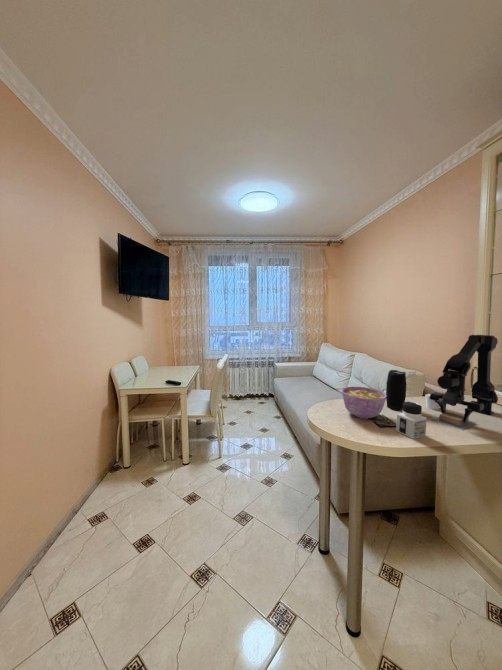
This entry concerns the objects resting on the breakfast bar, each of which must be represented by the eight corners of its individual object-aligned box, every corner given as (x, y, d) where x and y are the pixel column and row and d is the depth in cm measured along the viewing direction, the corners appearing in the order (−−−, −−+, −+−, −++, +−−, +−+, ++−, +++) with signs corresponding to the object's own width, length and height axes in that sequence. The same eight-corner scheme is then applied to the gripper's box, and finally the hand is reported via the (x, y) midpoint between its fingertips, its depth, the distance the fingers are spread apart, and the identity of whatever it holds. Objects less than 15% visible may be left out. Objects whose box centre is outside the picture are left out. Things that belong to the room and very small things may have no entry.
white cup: (435, 406, 136) (436, 393, 135) (443, 411, 129) (444, 398, 129) (421, 405, 137) (422, 393, 136) (429, 410, 130) (430, 397, 129)
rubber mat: (445, 414, 125) (445, 413, 125) (476, 423, 115) (476, 422, 115) (431, 421, 117) (431, 420, 117) (463, 431, 107) (463, 430, 107)
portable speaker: (408, 408, 132) (410, 372, 130) (397, 412, 128) (400, 374, 126) (392, 403, 140) (394, 369, 138) (381, 406, 135) (383, 370, 133)
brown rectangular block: (449, 416, 122) (449, 410, 122) (468, 421, 116) (469, 415, 116) (439, 421, 116) (439, 414, 116) (458, 427, 110) (459, 420, 110)
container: (413, 439, 100) (415, 407, 99) (395, 431, 107) (397, 401, 106) (426, 435, 103) (428, 405, 102) (407, 428, 110) (409, 399, 109)
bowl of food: (360, 405, 137) (361, 384, 136) (395, 419, 119) (396, 395, 118) (332, 411, 128) (332, 389, 127) (365, 427, 110) (366, 401, 109)
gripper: (425, 383, 118) (423, 415, 120) (476, 394, 103) (473, 431, 104) (435, 380, 124) (433, 411, 125) (485, 390, 108) (482, 425, 110)
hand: (453, 419), depth 116 cm, fingers closed on brown rectangular block, 7 cm apart
